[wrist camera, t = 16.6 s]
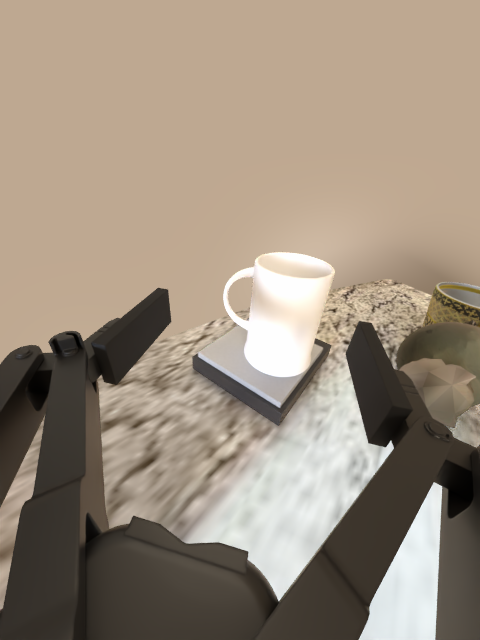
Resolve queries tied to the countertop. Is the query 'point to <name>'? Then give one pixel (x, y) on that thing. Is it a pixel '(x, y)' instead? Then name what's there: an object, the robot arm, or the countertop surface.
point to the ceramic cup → (454, 304)
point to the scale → (254, 375)
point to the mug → (283, 310)
